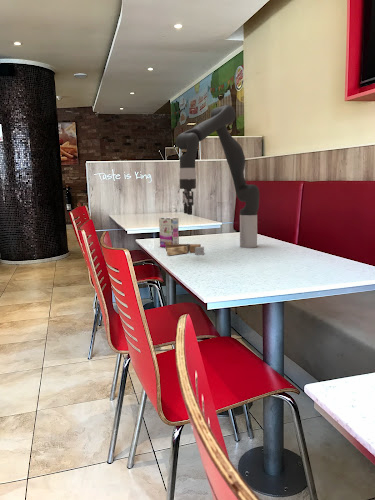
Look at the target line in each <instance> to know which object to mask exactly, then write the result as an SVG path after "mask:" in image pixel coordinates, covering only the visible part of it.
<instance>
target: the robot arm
mask: <svg viewBox="0 0 375 500" xmlns="http://www.w3.org/2000/svg"><path fill="white" fill-rule="evenodd" d="M236 114H237V113H236V110H235V108H234V107H233V106H232V105H230V104H226V105H224V104H223V105H221V106H217V107H214V108H212V109H211V113H210V118H208V119H205V120H204V121H202V122H200V123H198V124H196V125H194V127H192V128H191V129H190V128H189V129H188V130H186V131H184V132H181V133H179V134H178V136H177V137H176V139H175V145H176V147H177V148H178V149H179V150H183V151H184V150H186V151H185V153H184V154H182V155H181V156H180V157H179V173H178V175H179V178H178V179H179V181H178V182H179V189H180V190H182V204H183V213H184V214H187V215H189V216H190V215H193V206H194V204H195V203H194V191H192V190H195V189H196V188H197V172H196V158H197V153H198V150H199V146H200V145H199V144H200V142H201V141H203V140H205V139H207V138H208V137H209V136H210V135H212V133H213V134H214V132H216V134H217V136H218V138H219V141H220V144H221V146H222V149H223V152H224V156H225V159H226V163H227V165H228V168H229V171H230V173H231V177H232V181H233V185H234V190H235V195H236V197H237V199H238V200H239V201H240V202H243V203H245V205H244V207H243V208H241V209H240V210H239V248H247V249H248V248H249V249H251V248H253V249H254V248H257V247H258V211H259V208H260V189H259V187H258V186H257V185H256V184H247V182H246V179H245V175H244V174H245V173H244V172H245V165H246V157H245V154H244V150H243V148H242V146H241V145H240V143H239V142H238V141H237V140H236V139H235V138H234V137H233V136H232V135H231V134H230V132H229V130H228V128H227V125H230V124H233V122H235V120H236V116H237V115H236Z"/></svg>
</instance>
